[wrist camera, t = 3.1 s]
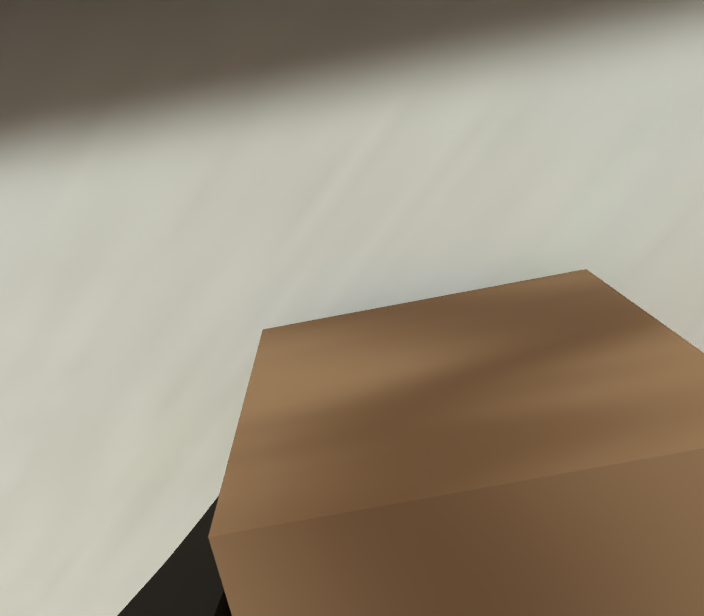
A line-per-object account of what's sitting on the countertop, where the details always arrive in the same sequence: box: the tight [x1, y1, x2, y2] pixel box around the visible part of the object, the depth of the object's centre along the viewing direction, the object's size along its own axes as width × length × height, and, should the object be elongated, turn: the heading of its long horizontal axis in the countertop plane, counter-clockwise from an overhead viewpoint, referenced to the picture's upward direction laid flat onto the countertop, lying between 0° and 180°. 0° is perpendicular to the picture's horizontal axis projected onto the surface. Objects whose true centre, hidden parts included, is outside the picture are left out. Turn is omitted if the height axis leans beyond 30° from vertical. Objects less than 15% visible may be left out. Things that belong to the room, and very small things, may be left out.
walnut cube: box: [208, 269, 704, 616], centre depth 9 cm, size 5×5×5 cm
